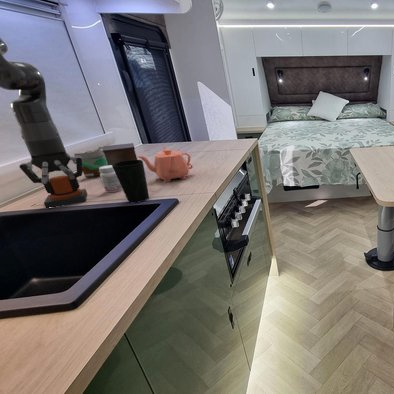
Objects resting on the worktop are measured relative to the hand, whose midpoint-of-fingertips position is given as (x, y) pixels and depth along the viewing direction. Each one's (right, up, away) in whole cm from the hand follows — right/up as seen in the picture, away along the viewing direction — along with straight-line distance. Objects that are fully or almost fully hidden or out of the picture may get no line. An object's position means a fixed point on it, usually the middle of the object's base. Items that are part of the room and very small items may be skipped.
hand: (64, 191), depth 90 cm
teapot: (+20, +5, +22) cm, 30 cm away
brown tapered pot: (+1, +6, +24) cm, 25 cm away
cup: (+22, -3, +2) cm, 22 cm away
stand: (0, -3, +1) cm, 3 cm away
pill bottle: (+7, +1, +10) cm, 12 cm away
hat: (0, -1, 0) cm, 1 cm away
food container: (-11, +7, +27) cm, 30 cm away
